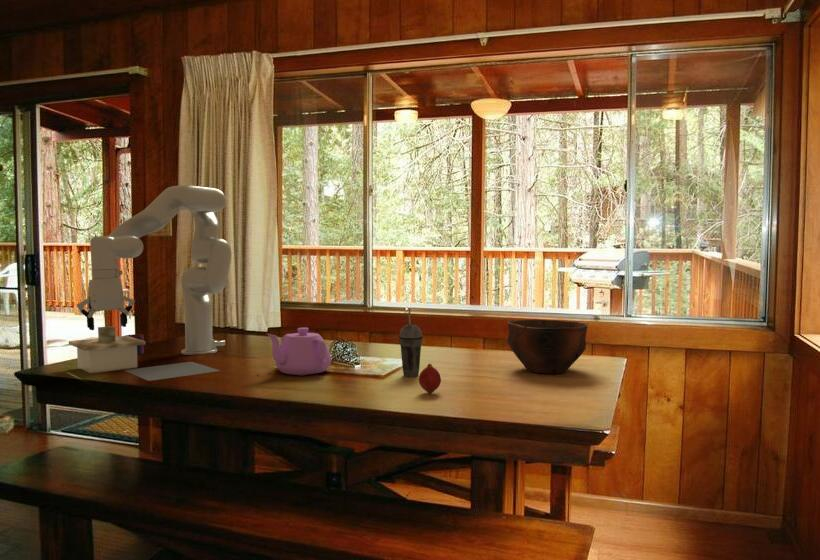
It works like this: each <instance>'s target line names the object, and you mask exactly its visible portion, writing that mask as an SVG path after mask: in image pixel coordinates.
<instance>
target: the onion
mask: <svg viewBox="0 0 820 560" xmlns="http://www.w3.org/2000/svg"><path fill="white" fill-rule="evenodd" d="M418 383H419V386H420V387H421V389H423V390H424V391H425V392H426V393H427V394H433V393H434V392H435V391H436V390H437V389H438V388H439V387H440V385H441V383H442V378H441V374H440V372H439V371H438V369H436V367H434V366H433V364H432V363H428V364H427V366H426V367H425V368H423V369H422V371H421V372H419V376H418Z"/></svg>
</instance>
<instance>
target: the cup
mask: <svg viewBox="0 0 820 560" xmlns="http://www.w3.org/2000/svg"><path fill="white" fill-rule="evenodd" d="M124 336H129V337H133V338H136V339H139V340H143V341H145V340H144V334H139V333H138V334H137V333H136V334H126V335H124ZM144 348H145V345H137V356H138V355H139V356H140V355H143V354H144V353H145V350H144Z"/></svg>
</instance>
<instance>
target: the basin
mask: <svg viewBox="0 0 820 560" xmlns="http://www.w3.org/2000/svg"><path fill="white" fill-rule="evenodd" d="M76 351H77V352H76V353H77V369H78V370H79V369H81V370H82V371H84V372H87V373H89V374H96V373H103V372H104V373H105V372H111V371H112V372H113V371H121V370H129V369H137V368H138V355H137V345H135V346H126V347H116V348H107V349H97V350H87V351H84V350H82V349H79V348H77V347H76Z"/></svg>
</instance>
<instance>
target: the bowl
mask: <svg viewBox="0 0 820 560" xmlns="http://www.w3.org/2000/svg"><path fill="white" fill-rule="evenodd" d="M506 325H507V327H508V330H509V331H508V335H507V345H508V346H509V348H510V349H511V351H512V353H513V354H514V355H515V357H516V358H517V359H518V361H520V363H521V364H522V365H523V367H524V368H525V370H527V371H529V372H533V373H538V374H539V373H540V374H561V373H565V372H567V371H568V370H569V368H571V366H573V364H575V362H576V361H578V359H579V358H581V356H582V354H583V353H584V352H585V351H586V349H587V348H586V347H587V342H586V337H587V330H588V327H589V325H588V324H586V323H583V322H578V321H574V320H573V321H571V320H570V321H568V320H567V321H566V320H558V319H557V320H555V319H553V320H552V319H519V320H509V321H506Z"/></svg>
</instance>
